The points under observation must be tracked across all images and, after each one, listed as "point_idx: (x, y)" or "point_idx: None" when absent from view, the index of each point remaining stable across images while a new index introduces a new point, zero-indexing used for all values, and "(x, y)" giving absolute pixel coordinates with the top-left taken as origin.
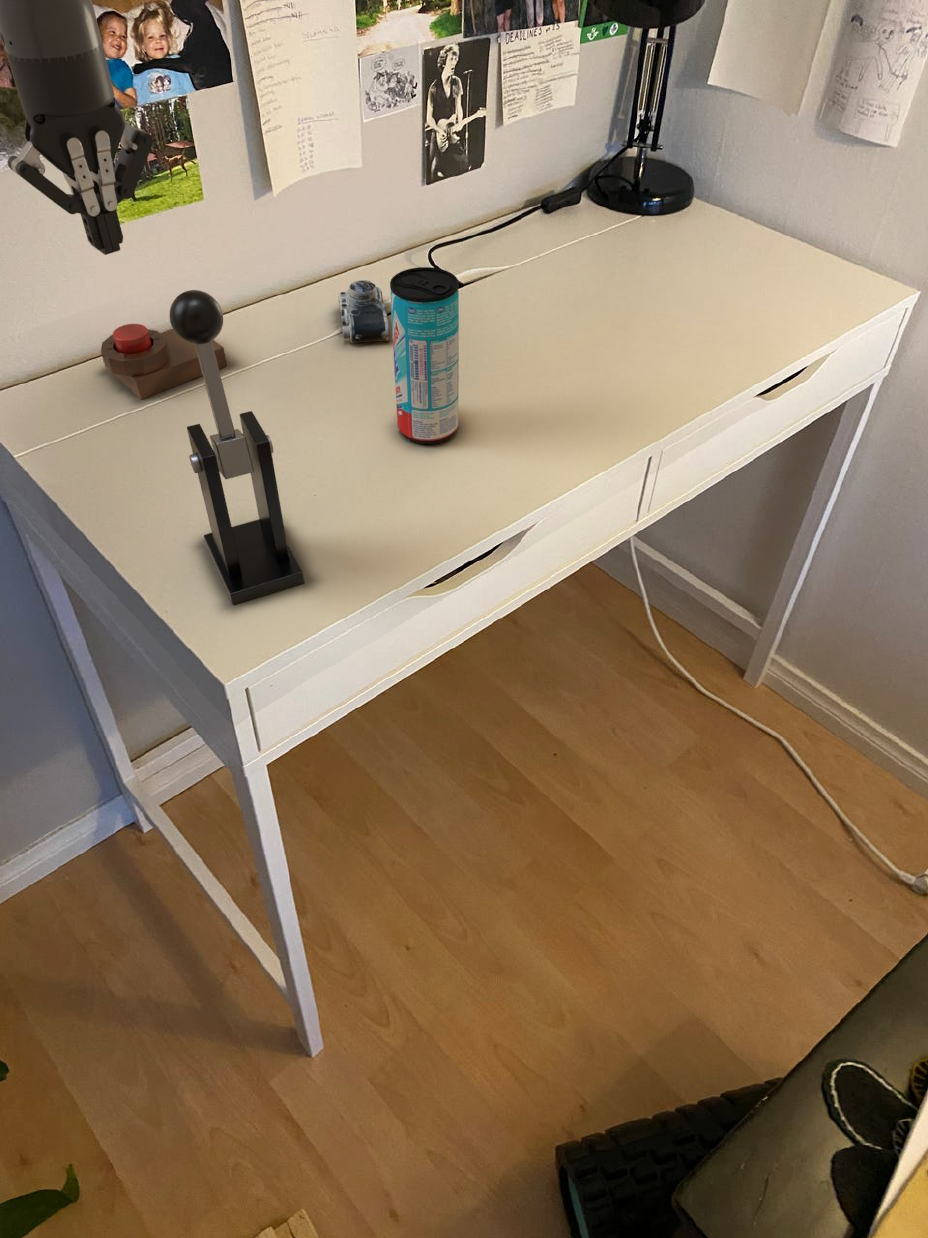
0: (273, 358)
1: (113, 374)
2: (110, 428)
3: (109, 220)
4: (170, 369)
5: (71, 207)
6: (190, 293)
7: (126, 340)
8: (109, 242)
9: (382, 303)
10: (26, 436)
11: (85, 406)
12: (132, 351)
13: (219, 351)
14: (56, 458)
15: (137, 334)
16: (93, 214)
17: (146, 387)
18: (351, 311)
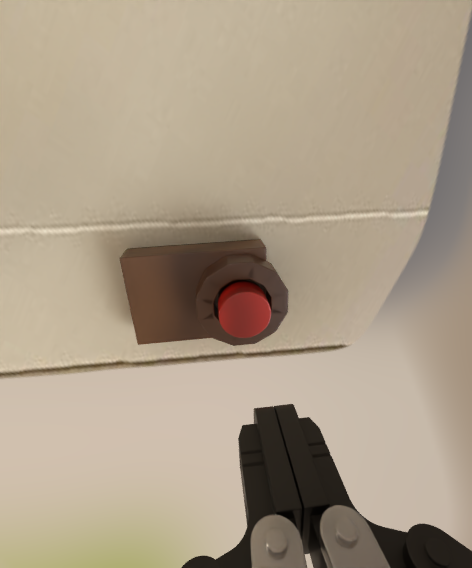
0: (55, 228)
1: None
2: (322, 199)
3: (282, 483)
4: (212, 250)
5: (448, 551)
6: None
7: (261, 295)
8: (284, 425)
9: None
10: (399, 245)
11: (319, 265)
12: (254, 286)
13: (128, 256)
14: (404, 176)
15: (240, 302)
16: (343, 511)
17: (251, 243)
18: None
